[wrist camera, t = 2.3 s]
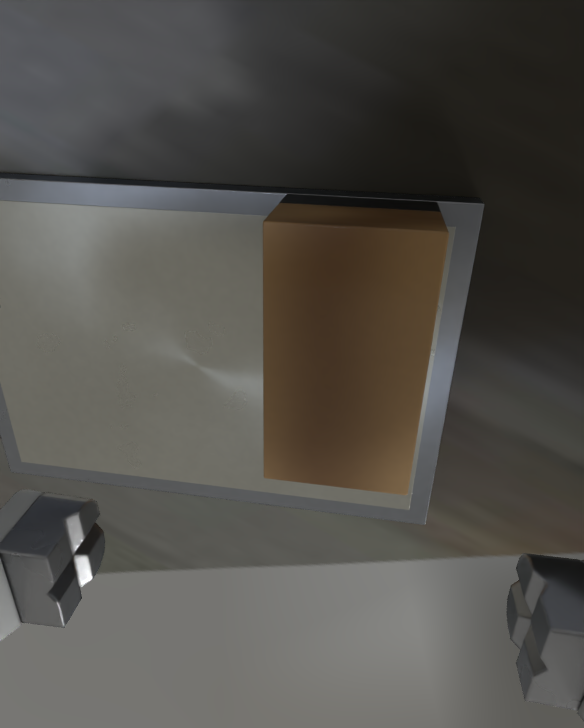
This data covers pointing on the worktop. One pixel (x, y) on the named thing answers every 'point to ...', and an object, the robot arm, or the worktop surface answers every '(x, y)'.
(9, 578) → the robot arm
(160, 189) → the whiteboard
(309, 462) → the eraser
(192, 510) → the worktop surface
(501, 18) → the worktop surface
